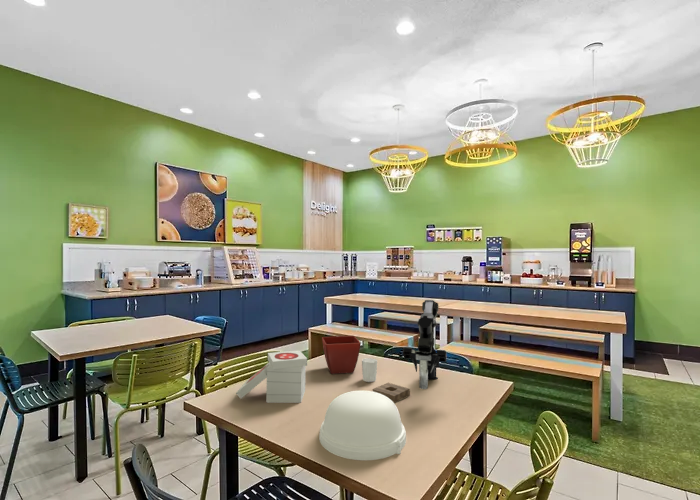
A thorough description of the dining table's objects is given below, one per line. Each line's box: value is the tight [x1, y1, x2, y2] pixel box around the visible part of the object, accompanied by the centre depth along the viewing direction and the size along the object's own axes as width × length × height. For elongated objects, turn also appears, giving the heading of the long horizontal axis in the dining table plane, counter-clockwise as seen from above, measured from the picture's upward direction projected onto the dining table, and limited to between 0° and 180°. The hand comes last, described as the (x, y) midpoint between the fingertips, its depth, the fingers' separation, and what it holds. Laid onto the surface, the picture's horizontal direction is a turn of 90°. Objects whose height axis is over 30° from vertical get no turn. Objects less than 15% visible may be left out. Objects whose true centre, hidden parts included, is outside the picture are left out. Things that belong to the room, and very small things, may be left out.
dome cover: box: [318, 390, 407, 461], centre depth 125 cm, size 32×30×14 cm
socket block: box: [372, 382, 411, 404], centre depth 163 cm, size 12×12×3 cm
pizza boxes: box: [236, 350, 308, 404], centre depth 161 cm, size 19×30×18 cm, turn 90°
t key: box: [416, 354, 431, 390], centre depth 156 cm, size 4×6×14 cm, turn 73°
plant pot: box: [321, 335, 362, 375], centre depth 200 cm, size 19×19×17 cm
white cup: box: [361, 357, 378, 383], centre depth 184 cm, size 8×8×10 cm
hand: (423, 372), depth 154 cm, fingers closed on t key, 5 cm apart
